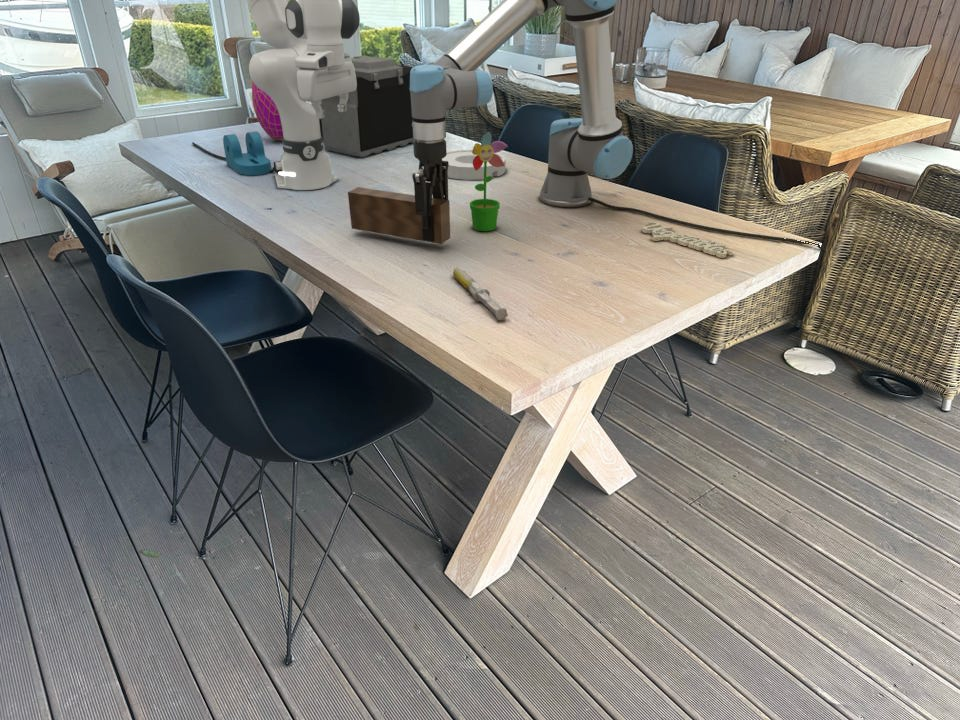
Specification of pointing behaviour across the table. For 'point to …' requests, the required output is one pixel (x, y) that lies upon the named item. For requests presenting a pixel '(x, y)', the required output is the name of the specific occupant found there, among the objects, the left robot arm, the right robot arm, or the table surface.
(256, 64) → the left robot arm
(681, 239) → the decorative sign
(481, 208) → the potted flower
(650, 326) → the table surface
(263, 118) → the decorative egg
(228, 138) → the camera mount
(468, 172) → the ashtray
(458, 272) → the syringe
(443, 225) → the bar
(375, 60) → the electronic device
